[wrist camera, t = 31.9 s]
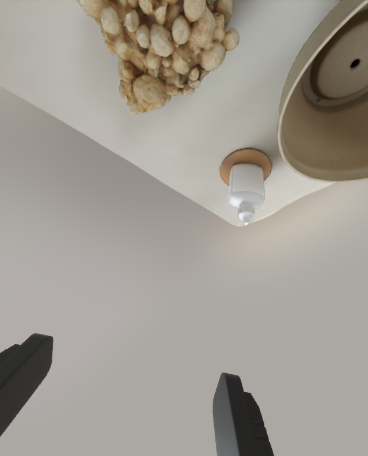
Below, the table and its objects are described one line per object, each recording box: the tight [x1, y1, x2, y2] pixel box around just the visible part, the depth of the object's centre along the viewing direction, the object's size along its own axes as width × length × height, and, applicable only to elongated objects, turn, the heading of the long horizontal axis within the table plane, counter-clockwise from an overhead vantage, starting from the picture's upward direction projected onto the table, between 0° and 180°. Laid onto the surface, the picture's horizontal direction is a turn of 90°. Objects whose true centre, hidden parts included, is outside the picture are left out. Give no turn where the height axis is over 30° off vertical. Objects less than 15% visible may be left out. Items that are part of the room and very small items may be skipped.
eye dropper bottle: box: [229, 164, 265, 225], centre depth 31 cm, size 4×6×12 cm
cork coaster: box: [220, 149, 271, 186], centre depth 35 cm, size 9×9×1 cm
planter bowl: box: [277, 0, 368, 183], centre depth 18 cm, size 16×16×11 cm
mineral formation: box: [77, 0, 240, 114], centre depth 19 cm, size 8×13×15 cm
